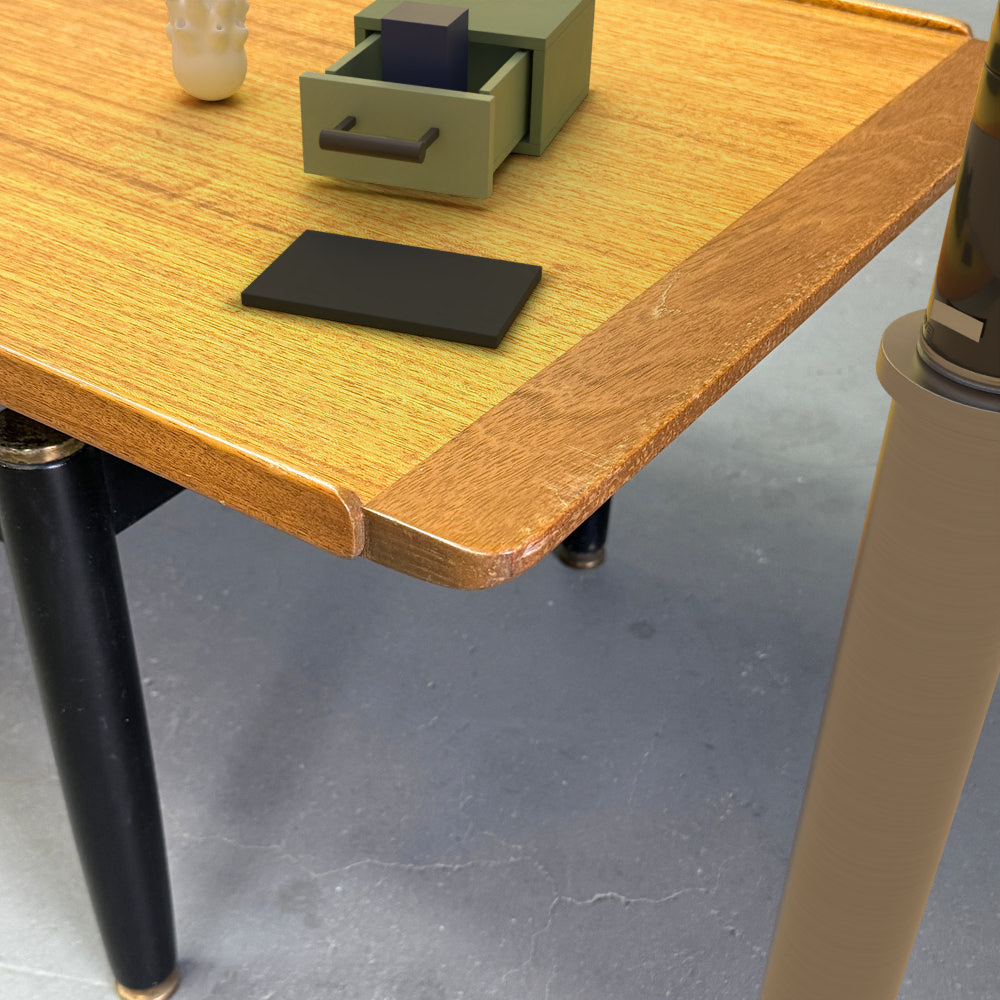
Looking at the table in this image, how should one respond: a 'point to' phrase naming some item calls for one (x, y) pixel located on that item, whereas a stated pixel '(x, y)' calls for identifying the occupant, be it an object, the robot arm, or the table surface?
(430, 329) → the mat
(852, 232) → the table surface
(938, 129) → the table surface
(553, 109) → the cabinet
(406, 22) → the navy box
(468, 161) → the drawer
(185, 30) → the figurine
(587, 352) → the table surface
